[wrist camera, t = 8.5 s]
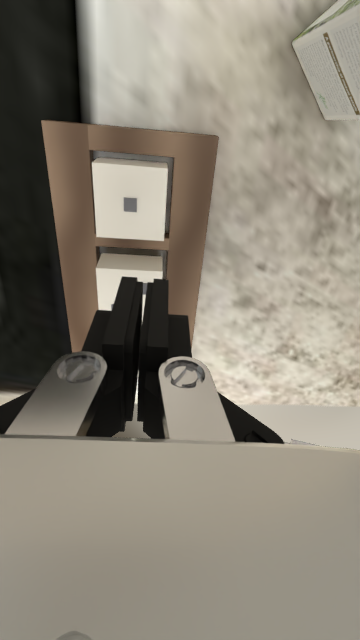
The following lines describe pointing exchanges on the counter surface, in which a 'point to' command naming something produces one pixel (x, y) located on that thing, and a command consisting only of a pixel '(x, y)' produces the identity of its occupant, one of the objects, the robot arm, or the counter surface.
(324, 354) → the counter surface
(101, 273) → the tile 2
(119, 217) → the keypad button
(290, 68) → the counter surface
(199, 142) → the keypad board
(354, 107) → the syrup box
